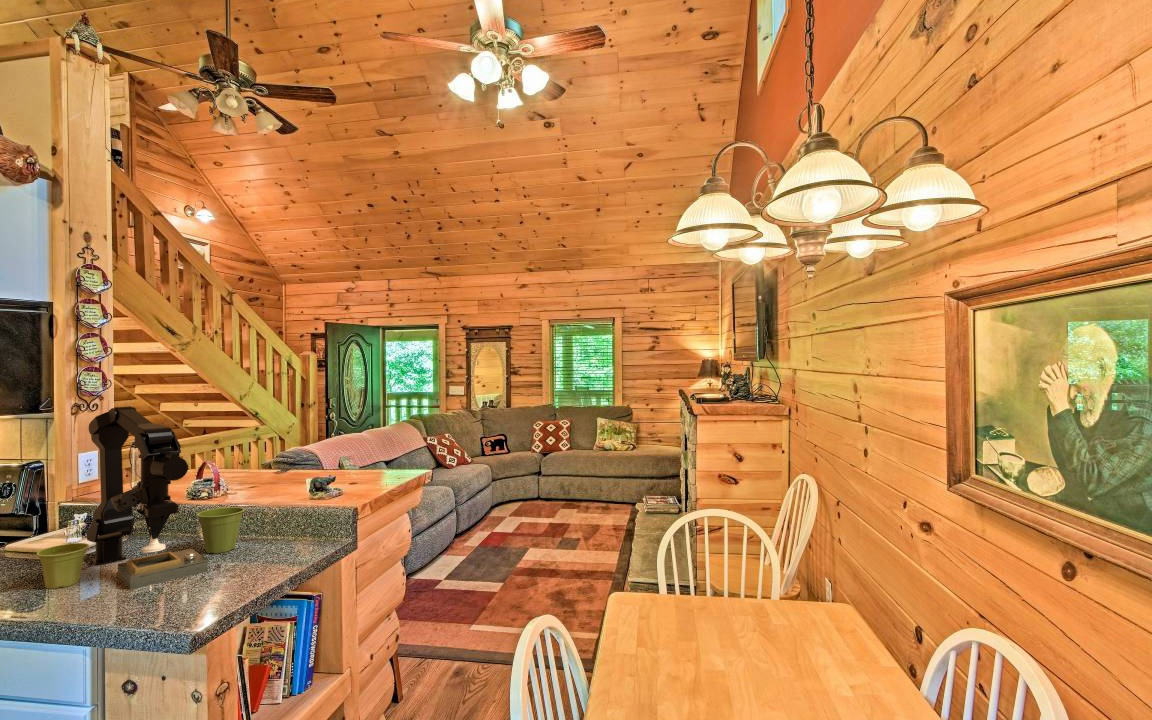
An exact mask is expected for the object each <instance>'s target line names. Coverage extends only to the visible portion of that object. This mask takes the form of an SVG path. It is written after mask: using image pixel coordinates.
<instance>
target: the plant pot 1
mask: <svg viewBox="0 0 1152 720" xmlns="http://www.w3.org/2000/svg"><path fill="white" fill-rule="evenodd" d="M89 546H90V545H89V544H88V543H86V542H85V543H84V542H83V543H82V542H75V543H74V542H73V543H64V544H58V545H54V546H50V547H47V548H44V549H41V550H39V551H37V552H36V556H37V557H38V559H39V561H40V563H41V569H42V575H43V582H44V587H45V588H46V589H51V590H54V589H55V590H56V589H58V588H60V587H61V588H63V587H64V588H65V587H71V586H73V585H76V584H77V583H79V582H80V580H81V579H80V578H81V574H82V573H81V572H82V567H83V562H84V559H85V558H84V557H85V554H86V553H87V549H88V548H89Z"/></svg>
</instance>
